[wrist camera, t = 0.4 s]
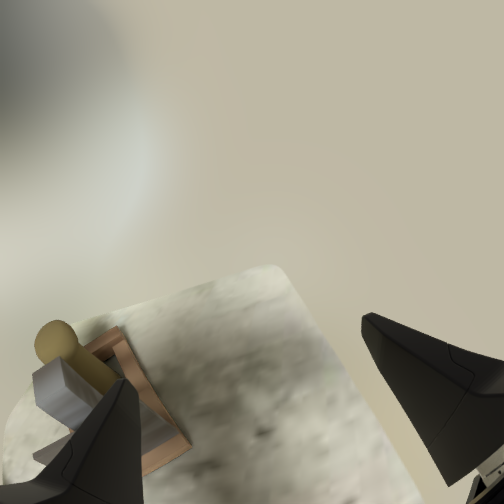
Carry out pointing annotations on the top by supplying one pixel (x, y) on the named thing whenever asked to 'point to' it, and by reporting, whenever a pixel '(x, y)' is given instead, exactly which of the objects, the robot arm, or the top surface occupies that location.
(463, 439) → the robot arm
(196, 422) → the top surface
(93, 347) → the wooden shape sorter tray
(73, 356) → the tan rounded peg
